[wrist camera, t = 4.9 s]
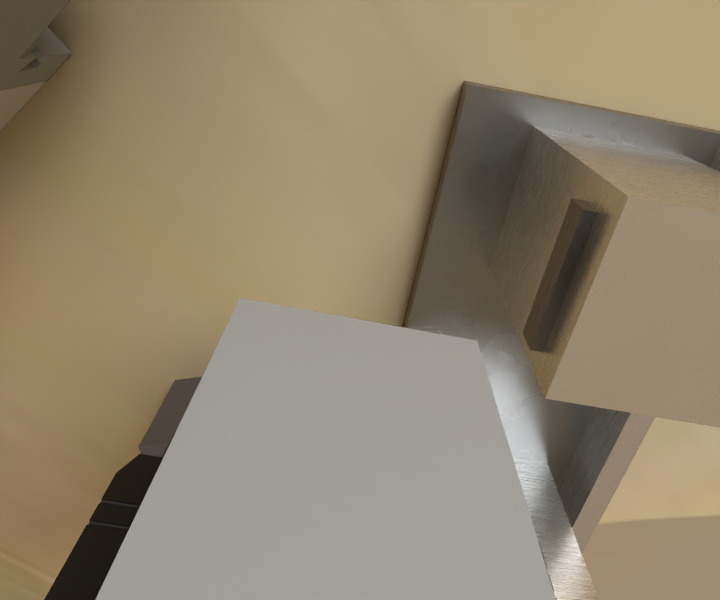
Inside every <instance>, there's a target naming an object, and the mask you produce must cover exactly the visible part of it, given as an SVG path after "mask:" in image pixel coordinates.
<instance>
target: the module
mask: <svg viewBox="0 0 720 600" xmlns="http://www.w3.org/2000/svg"><path fill="white" fill-rule="evenodd" d="M95 600H556V598H555V595H554V592H553V588H552V585H551V582H550V578H549V575H548V572H547V569H546V565H545V562H544V559H543V555H542V552H541V549H540V546H539V542H538V539H537V536H536V532H535V529H534V526H533V523H532V519H531V516H530V513H529V509H528V506H527V503H526V500H525V496H524V493H523V490H522V486H521V483H520V480H519V477H518V473H517V470H516V467H515V463H514V460H513V457H512V454H511V450H510V447H509V444H508V440H507V437H506V434H505V431H504V427H503V424H502V421H501V417H500V414H499V411H498V408H497V404H496V401H495V398H494V395H493V391H492V388H491V385H490V381H489V378H488V375H487V372H486V368H485V365H484V362H483V358H482V355H481V352H480V349H479V345H478V342H477V341H476V340H471V339H465V338H460V337H454V336H448V335H443V334H437V333H432V332H426V331H421V330H415V329H409V328H404V327H398V326H393V325H387V324H382V323H376V322H371V321H365V320H359V319H354V318H348V317H343V316H337V315H332V314H326V313H320V312H315V311H309V310H304V309H298V308H293V307H287V306H282V305H276V304H270V303H265V302H259V301H254V300H248V299H243V298H240V299H239V301H238V304H237V306H236V308H235V310H234V312H233V314H232V316H231V318H230V320H229V322H228V324H227V326H226V329H225V331H224V333H223V335H222V337H221V339H220V341H219V343H218V345H217V347H216V349H215V351H214V354H213V356H212V358H211V360H210V362H209V364H208V366H207V368H206V370H205V372H204V374H203V376H202V379H201V381H200V383H199V385H198V387H197V389H196V391H195V393H194V395H193V397H192V399H191V401H190V404H189V406H188V408H187V410H186V412H185V414H184V416H183V418H182V420H181V422H180V424H179V426H178V429H177V431H176V433H175V435H174V437H173V439H172V441H171V443H170V445H169V447H168V449H167V451H166V453H165V456H164V458H163V460H162V462H161V464H160V466H159V468H158V470H157V472H156V474H155V476H154V478H153V481H152V483H151V485H150V487H149V489H148V491H147V493H146V495H145V497H144V499H143V501H142V503H141V506H140V508H139V510H138V512H137V514H136V516H135V518H134V520H133V522H132V524H131V526H130V528H129V531H128V533H127V535H126V537H125V539H124V541H123V543H122V545H121V547H120V549H119V551H118V553H117V556H116V558H115V560H114V562H113V564H112V566H111V568H110V570H109V572H108V574H107V576H106V578H105V581H104V583H103V585H102V587H101V589H100V591H99V593H98V595H97V597H96V599H95Z"/></svg>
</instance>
